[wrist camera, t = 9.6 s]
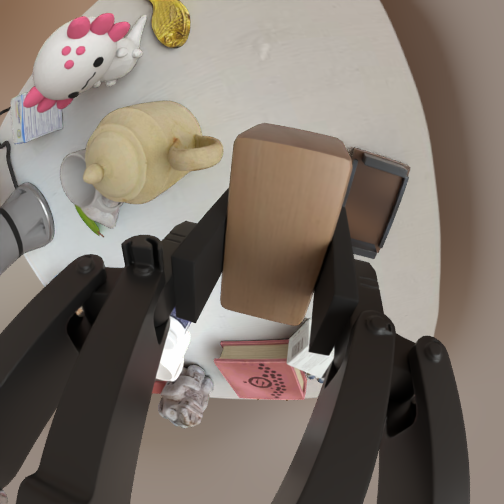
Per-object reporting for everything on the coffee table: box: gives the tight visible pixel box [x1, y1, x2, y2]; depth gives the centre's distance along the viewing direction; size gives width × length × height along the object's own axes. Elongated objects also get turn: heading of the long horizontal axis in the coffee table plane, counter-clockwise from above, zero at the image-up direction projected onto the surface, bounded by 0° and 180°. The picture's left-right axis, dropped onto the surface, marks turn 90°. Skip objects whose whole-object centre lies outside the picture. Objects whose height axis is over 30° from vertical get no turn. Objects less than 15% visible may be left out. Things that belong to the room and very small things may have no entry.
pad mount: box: [342, 148, 410, 259], centre depth 29 cm, size 12×7×3 cm, turn 172°
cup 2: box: [156, 329, 191, 381], centre depth 50 cm, size 8×12×10 cm
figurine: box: [158, 365, 214, 428], centre depth 56 cm, size 10×11×15 cm
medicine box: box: [11, 92, 63, 144], centre depth 28 cm, size 8×4×9 cm, turn 175°
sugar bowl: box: [83, 101, 223, 204], centre depth 25 cm, size 15×11×15 cm
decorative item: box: [149, 0, 190, 48], centre depth 21 cm, size 11×1×5 cm
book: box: [214, 339, 307, 401], centre depth 50 cm, size 14×15×5 cm
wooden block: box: [220, 123, 353, 326], centre depth 12 cm, size 4×4×8 cm
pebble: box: [80, 196, 119, 228], centre depth 37 cm, size 9×8×5 cm
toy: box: [23, 13, 147, 113], centre depth 20 cm, size 14×8×15 cm, turn 123°
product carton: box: [287, 319, 334, 378], centre depth 42 cm, size 6×6×7 cm
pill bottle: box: [164, 308, 191, 350], centre depth 43 cm, size 6×6×10 cm
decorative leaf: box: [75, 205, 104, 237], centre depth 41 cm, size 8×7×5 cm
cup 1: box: [60, 149, 124, 213], centre depth 32 cm, size 8×10×8 cm
